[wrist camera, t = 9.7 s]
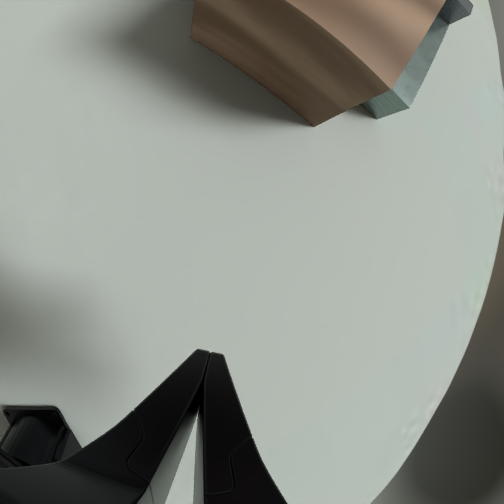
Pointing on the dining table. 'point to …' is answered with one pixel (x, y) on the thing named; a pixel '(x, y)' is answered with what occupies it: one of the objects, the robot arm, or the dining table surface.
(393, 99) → the vise
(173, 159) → the dining table surface
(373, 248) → the dining table surface
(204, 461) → the robot arm
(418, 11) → the workpiece block
